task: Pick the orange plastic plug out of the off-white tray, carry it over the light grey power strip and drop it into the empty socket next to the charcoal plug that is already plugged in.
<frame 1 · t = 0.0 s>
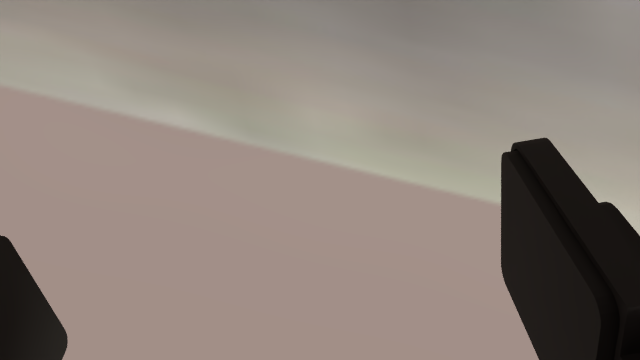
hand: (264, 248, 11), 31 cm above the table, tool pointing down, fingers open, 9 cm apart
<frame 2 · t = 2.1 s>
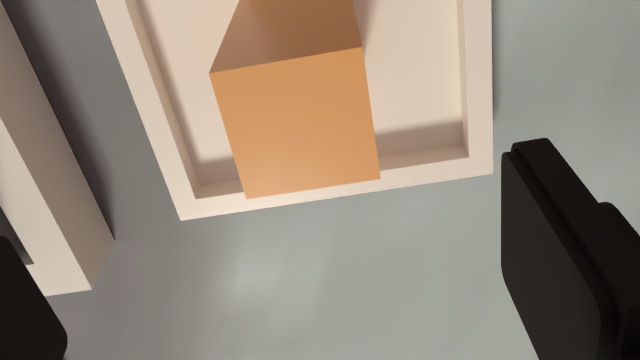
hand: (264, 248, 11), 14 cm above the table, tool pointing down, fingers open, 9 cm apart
plug: (303, 35, 22), point 1 cm above the table, touching tray
tray: (304, 29, 23), on the table
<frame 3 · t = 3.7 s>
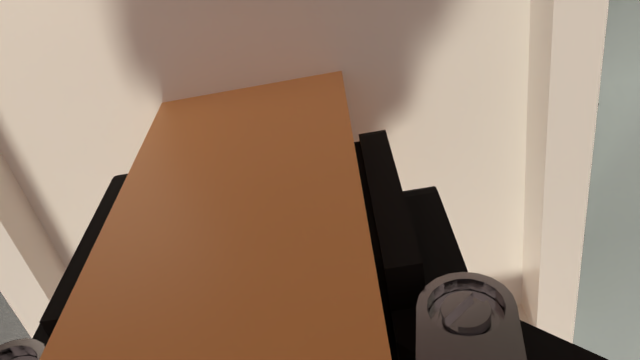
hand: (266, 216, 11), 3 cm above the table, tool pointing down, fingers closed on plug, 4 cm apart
plug: (271, 164, 13), point 1 cm above the table, touching gripper, tray
tray: (272, 147, 14), on the table
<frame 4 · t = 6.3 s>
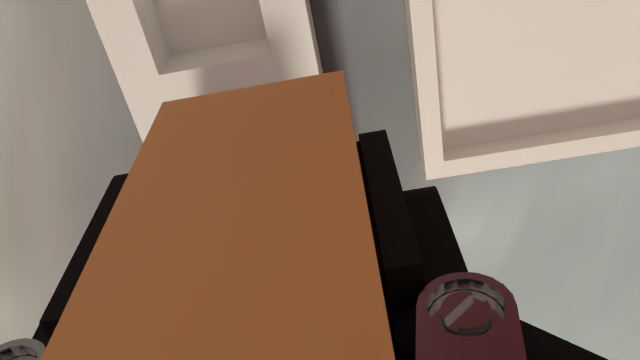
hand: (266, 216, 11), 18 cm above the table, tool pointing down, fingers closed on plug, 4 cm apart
plug: (272, 163, 13), point 16 cm above the table, touching gripper
tray: (550, 18, 28), on the table
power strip: (234, 74, 29), on the table
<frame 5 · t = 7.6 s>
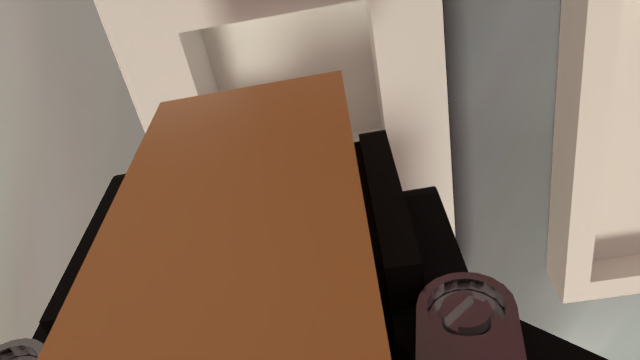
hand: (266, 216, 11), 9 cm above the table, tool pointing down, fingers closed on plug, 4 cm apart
plug: (270, 164, 13), point 7 cm above the table, touching gripper
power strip: (317, 169, 22), on the table
when the fingers open (4 cm above the table, at t = 8.8 s): plug drops 1 cm, resting on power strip.
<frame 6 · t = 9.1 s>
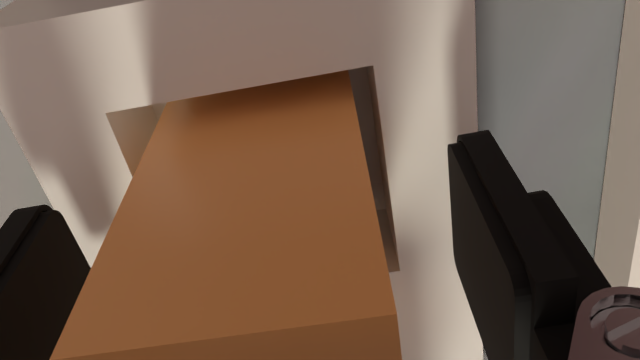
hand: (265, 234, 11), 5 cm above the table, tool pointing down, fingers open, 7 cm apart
plug: (276, 143, 14), point 1 cm above the table, touching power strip
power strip: (305, 252, 17), on the table
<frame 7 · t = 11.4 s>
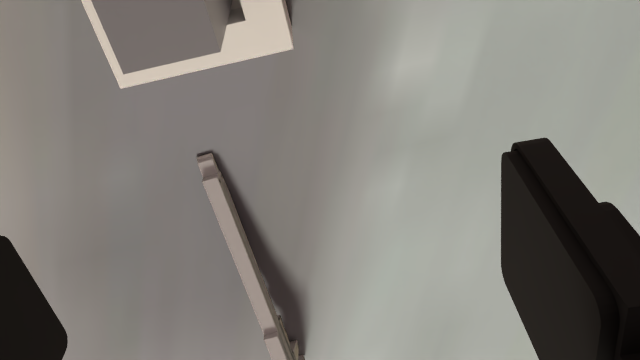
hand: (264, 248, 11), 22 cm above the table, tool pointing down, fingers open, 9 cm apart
caliper: (258, 266, 41), on the table
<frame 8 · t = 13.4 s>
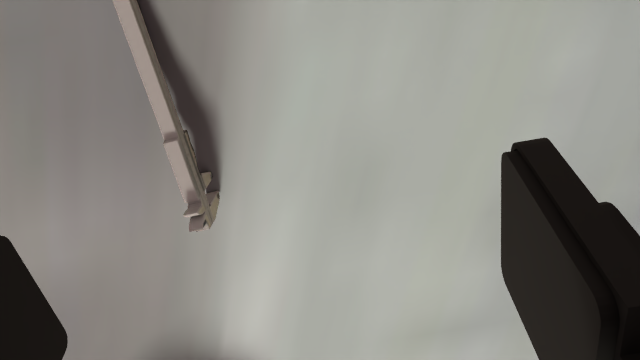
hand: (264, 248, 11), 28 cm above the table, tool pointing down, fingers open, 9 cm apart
caliper: (165, 76, 39), on the table
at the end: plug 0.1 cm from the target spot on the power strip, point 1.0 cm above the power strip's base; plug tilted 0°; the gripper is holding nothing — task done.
